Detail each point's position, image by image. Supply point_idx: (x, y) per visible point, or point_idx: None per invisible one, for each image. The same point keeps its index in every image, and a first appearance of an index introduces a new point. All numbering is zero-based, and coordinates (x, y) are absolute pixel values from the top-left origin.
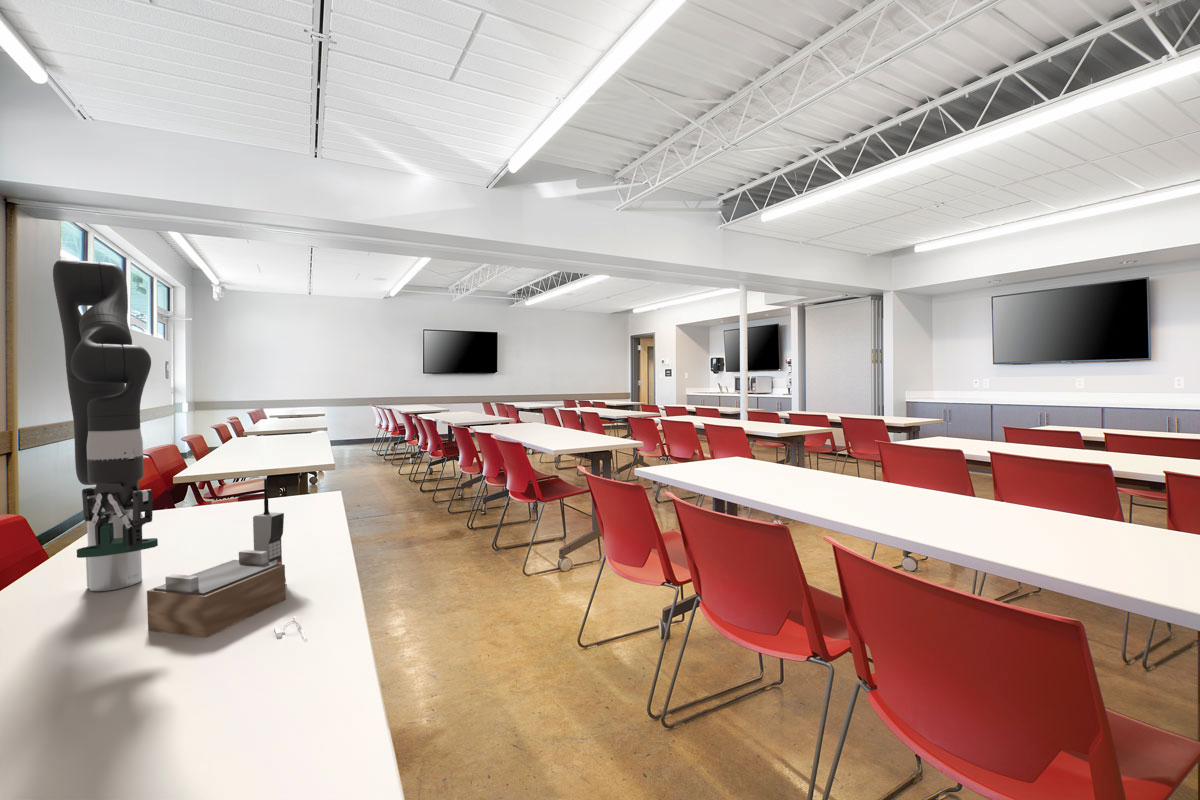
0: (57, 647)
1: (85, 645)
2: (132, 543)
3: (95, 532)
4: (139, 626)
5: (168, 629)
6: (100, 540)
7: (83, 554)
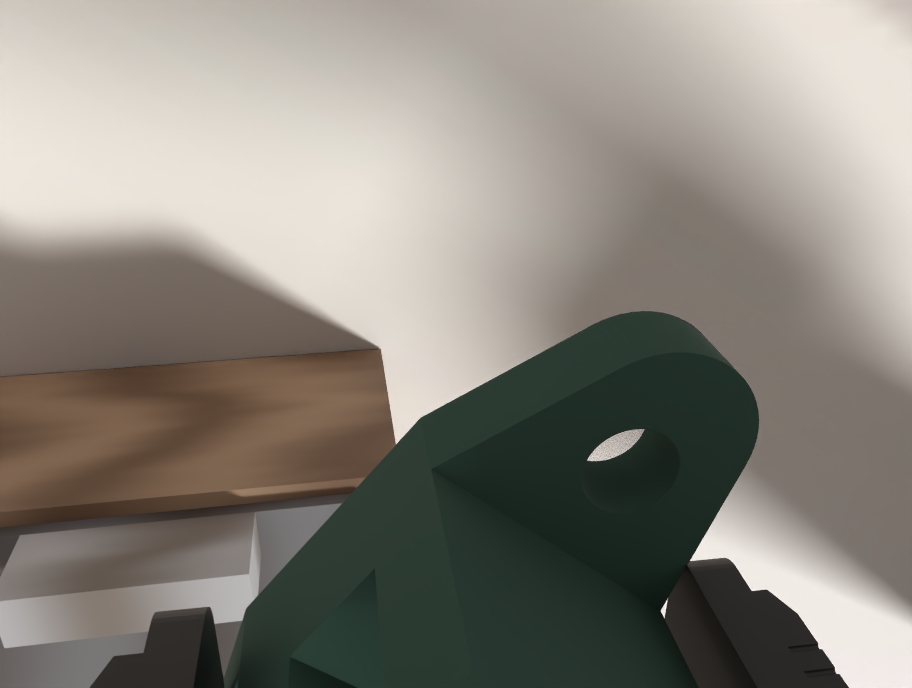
0: (645, 92)
1: (520, 147)
2: (120, 679)
3: (802, 682)
4: (477, 364)
5: (237, 368)
6: (448, 556)
7: (590, 349)
